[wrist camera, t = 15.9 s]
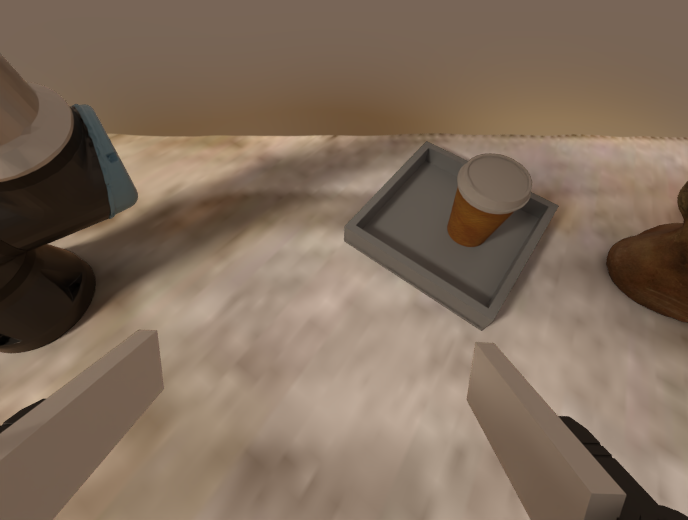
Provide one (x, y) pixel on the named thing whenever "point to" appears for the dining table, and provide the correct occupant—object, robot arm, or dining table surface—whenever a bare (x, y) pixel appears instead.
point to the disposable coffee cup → (486, 197)
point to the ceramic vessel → (655, 266)
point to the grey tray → (445, 238)
